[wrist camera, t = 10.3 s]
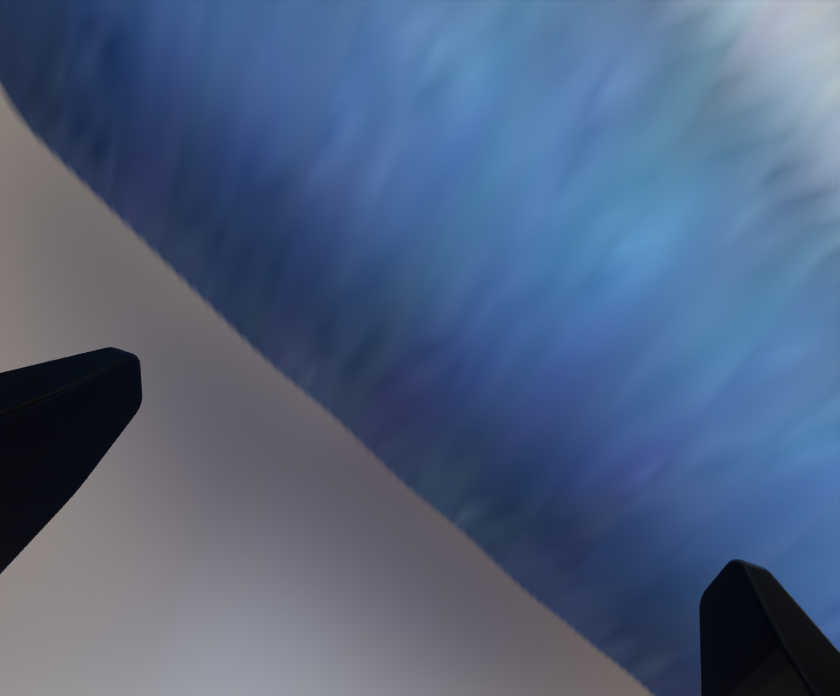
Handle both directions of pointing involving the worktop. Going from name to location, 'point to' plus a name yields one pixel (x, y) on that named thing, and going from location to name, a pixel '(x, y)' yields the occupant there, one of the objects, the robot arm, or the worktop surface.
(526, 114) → the worktop surface
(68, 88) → the worktop surface
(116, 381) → the robot arm
